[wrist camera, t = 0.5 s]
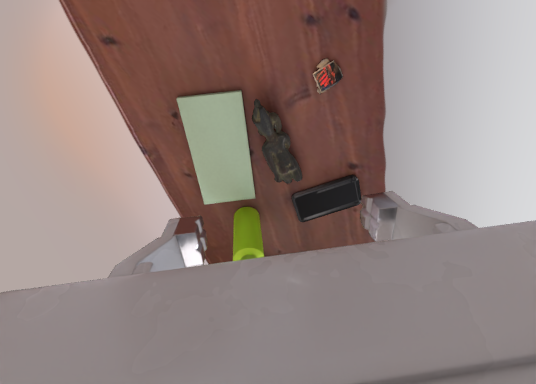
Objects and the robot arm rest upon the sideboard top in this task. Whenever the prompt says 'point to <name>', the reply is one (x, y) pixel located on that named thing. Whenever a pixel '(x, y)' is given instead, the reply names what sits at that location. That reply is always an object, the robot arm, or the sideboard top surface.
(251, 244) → the soap dispenser
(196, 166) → the board
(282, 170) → the statue
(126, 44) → the sideboard top surface
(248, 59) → the sideboard top surface
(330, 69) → the matchbox
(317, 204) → the phone
